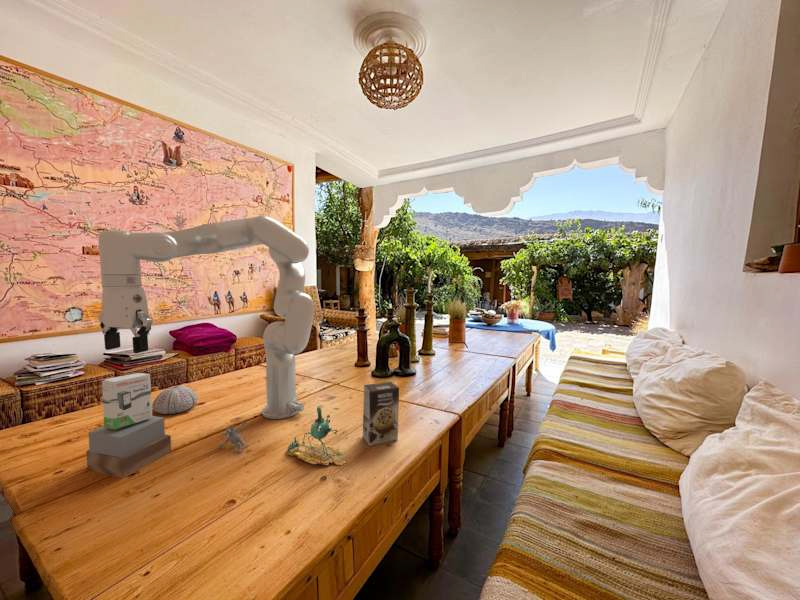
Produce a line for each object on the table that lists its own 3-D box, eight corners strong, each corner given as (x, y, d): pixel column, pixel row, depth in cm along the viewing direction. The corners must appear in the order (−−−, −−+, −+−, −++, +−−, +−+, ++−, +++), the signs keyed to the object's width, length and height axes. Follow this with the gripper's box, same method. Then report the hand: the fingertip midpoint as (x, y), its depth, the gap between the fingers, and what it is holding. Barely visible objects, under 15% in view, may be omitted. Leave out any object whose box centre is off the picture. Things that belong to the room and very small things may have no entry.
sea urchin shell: (162, 420, 107) (161, 397, 106) (146, 410, 114) (144, 387, 113) (205, 407, 118) (204, 385, 117) (187, 398, 125) (187, 377, 124)
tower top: (164, 435, 88) (164, 417, 88) (121, 458, 78) (120, 437, 77) (135, 430, 91) (134, 413, 90) (89, 451, 80) (88, 432, 79)
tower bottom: (171, 453, 89) (170, 435, 88) (123, 480, 77) (122, 459, 77) (138, 445, 92) (137, 428, 92) (87, 470, 81) (86, 451, 80)
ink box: (114, 430, 79) (110, 381, 79) (103, 427, 81) (100, 380, 81) (153, 417, 87) (150, 373, 87) (142, 415, 89) (140, 371, 89)
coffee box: (369, 446, 93) (370, 391, 92) (362, 436, 99) (362, 384, 98) (398, 440, 97) (399, 387, 96) (390, 430, 103) (391, 380, 102)
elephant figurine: (222, 460, 86) (209, 440, 90) (234, 466, 90) (221, 446, 94) (251, 432, 89) (237, 414, 94) (261, 439, 93) (247, 421, 98)
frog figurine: (302, 440, 97) (306, 392, 95) (354, 462, 90) (360, 410, 88) (277, 456, 88) (282, 403, 86) (333, 482, 81) (339, 425, 79)
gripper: (163, 282, 82) (167, 349, 84) (114, 280, 87) (118, 344, 89) (131, 283, 75) (136, 357, 77) (79, 281, 80) (85, 350, 82)
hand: (126, 350), depth 83 cm, fingers open, 9 cm apart
